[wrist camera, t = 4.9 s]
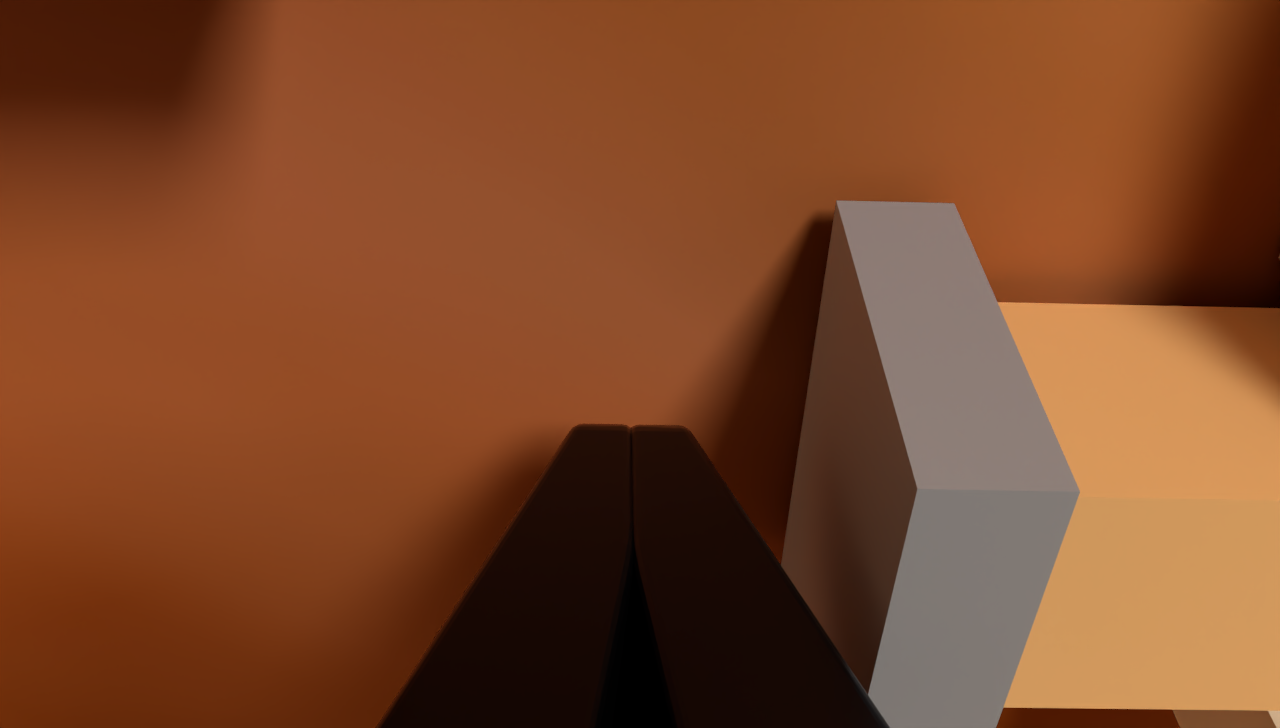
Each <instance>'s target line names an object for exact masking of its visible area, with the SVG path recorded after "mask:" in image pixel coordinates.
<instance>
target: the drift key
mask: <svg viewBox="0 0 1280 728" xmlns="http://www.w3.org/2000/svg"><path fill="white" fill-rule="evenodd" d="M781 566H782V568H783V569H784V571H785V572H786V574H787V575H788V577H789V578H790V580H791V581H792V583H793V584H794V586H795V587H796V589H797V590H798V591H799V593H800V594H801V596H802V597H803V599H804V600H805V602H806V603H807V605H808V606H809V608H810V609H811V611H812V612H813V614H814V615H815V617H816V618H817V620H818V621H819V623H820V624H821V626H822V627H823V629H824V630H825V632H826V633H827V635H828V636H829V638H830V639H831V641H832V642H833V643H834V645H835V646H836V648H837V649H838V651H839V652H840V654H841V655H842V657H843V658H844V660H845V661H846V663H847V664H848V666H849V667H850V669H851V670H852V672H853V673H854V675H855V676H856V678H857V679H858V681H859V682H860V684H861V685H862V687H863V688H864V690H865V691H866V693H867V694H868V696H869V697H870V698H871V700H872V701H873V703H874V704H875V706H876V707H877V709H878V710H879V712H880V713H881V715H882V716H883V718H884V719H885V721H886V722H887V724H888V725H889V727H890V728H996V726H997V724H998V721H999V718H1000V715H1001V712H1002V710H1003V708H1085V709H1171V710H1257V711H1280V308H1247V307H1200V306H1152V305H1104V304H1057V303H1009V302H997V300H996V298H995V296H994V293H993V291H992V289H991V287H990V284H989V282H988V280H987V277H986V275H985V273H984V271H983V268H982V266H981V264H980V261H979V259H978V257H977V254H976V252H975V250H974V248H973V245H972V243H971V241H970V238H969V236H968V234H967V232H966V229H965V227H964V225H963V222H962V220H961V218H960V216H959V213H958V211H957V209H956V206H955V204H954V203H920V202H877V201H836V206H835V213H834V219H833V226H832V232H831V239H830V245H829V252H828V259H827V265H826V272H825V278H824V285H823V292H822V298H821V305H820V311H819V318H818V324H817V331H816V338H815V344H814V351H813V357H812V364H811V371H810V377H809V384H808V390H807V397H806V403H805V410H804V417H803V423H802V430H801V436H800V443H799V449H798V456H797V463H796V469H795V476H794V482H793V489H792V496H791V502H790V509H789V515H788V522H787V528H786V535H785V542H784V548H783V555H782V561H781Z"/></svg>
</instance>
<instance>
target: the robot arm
mask: <svg viewBox="0 0 1280 728" xmlns="http://www.w3.org/2000/svg"><path fill="white" fill-rule="evenodd" d="M376 728H890V727H889V725H888V724H887V722H886V721H885V719H884V718H883V716H882V715H881V713H880V712H879V710H878V709H877V707H876V706H875V704H874V703H873V701H872V700H871V698H870V697H869V696H868V694H867V693H866V691H865V690H864V688H863V687H862V685H861V684H860V682H859V681H858V679H857V678H856V676H855V675H854V673H853V672H852V670H851V669H850V667H849V666H848V664H847V663H846V661H845V660H844V658H843V657H842V655H841V654H840V652H839V651H838V649H837V648H836V646H835V645H834V643H833V642H832V641H831V639H830V638H829V636H828V635H827V633H826V632H825V630H824V629H823V627H822V626H821V624H820V623H819V621H818V620H817V618H816V617H815V615H814V614H813V612H812V611H811V609H810V608H809V606H808V605H807V603H806V602H805V600H804V599H803V597H802V596H801V594H800V593H799V591H798V590H797V589H796V587H795V586H794V584H793V583H792V581H791V580H790V578H789V577H788V575H787V574H786V572H785V571H784V569H783V568H782V566H781V565H780V563H779V562H778V560H777V559H776V557H775V556H774V554H773V553H772V551H771V550H770V548H769V547H768V545H767V544H766V542H765V541H764V539H763V538H762V536H761V535H760V534H759V532H758V531H757V529H756V528H755V526H754V525H753V523H752V522H751V520H750V519H749V517H748V516H747V514H746V513H745V511H744V510H743V508H742V507H741V505H740V504H739V502H738V501H737V499H736V498H735V496H734V495H733V493H732V492H731V490H730V489H729V487H728V486H727V484H726V483H725V482H724V480H723V479H722V477H721V476H720V474H719V473H718V471H717V470H716V468H715V467H714V465H713V464H712V462H711V461H710V459H709V458H708V456H707V455H706V453H705V452H704V450H703V449H702V447H701V446H700V444H699V443H698V441H697V440H696V438H695V437H694V436H693V434H692V433H691V432H690V430H688V429H687V428H685V427H683V426H679V425H635V426H633V427H632V428H630V427H628V426H627V425H623V424H579V425H577V426H575V427H573V428H572V429H571V431H570V432H569V433H568V435H567V436H566V438H565V439H564V441H563V442H562V444H561V445H560V447H559V448H558V450H557V451H556V453H555V455H554V456H553V458H552V459H551V461H550V462H549V464H548V465H547V467H546V468H545V470H544V471H543V473H542V474H541V476H540V477H539V479H538V481H537V482H536V484H535V485H534V487H533V488H532V490H531V491H530V493H529V494H528V496H527V497H526V499H525V500H524V502H523V503H522V505H521V507H520V508H519V510H518V511H517V513H516V514H515V516H514V517H513V519H512V520H511V522H510V523H509V525H508V526H507V528H506V529H505V531H504V532H503V534H502V536H501V537H500V539H499V540H498V542H497V543H496V545H495V546H494V548H493V549H492V551H491V552H490V554H489V555H488V557H487V558H486V560H485V562H484V563H483V565H482V566H481V568H480V569H479V571H478V572H477V574H476V575H475V577H474V578H473V580H472V581H471V583H470V584H469V586H468V588H467V589H466V591H465V592H464V594H463V595H462V597H461V598H460V600H459V601H458V603H457V604H456V606H455V607H454V609H453V610H452V612H451V614H450V615H449V617H448V618H447V620H446V621H445V623H444V624H443V626H442V627H441V629H440V630H439V632H438V633H437V635H436V636H435V638H434V639H433V641H432V643H431V644H430V646H429V647H428V649H427V650H426V652H425V653H424V655H423V656H422V658H421V659H420V661H419V662H418V664H417V665H416V667H415V669H414V670H413V672H412V673H411V675H410V676H409V678H408V679H407V681H406V682H405V684H404V685H403V687H402V688H401V690H400V691H399V693H398V695H397V696H396V698H395V699H394V701H393V702H392V704H391V705H390V707H389V708H388V710H387V711H386V713H385V714H384V716H383V717H382V719H381V720H380V722H379V724H378V725H377V727H376Z"/></svg>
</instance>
